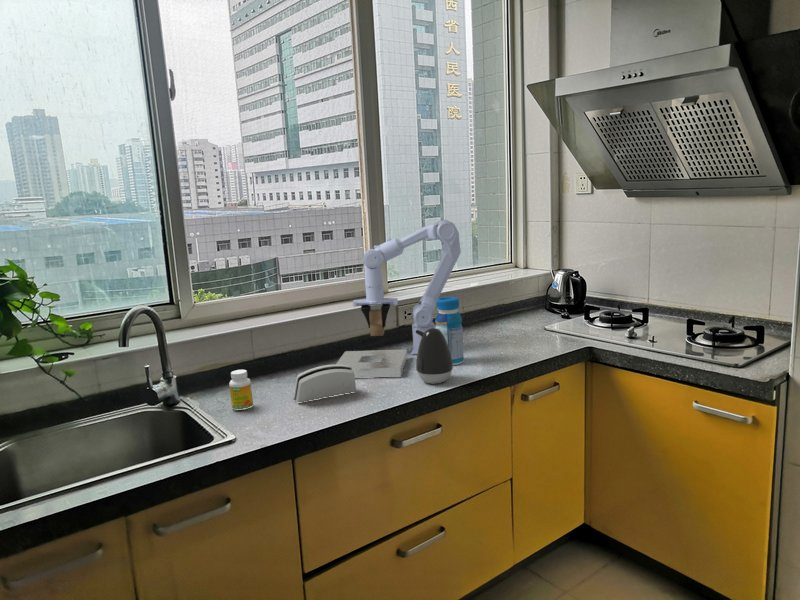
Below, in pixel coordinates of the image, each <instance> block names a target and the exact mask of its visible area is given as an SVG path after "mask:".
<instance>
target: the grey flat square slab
mask: <svg viewBox="0 0 800 600" xmlns="http://www.w3.org/2000/svg"><path fill="white" fill-rule="evenodd" d="M406 360H408V349H381V350H380V349H378V350H377V349H376V350H374V349H373V350H353V351H352V350H346V351H344V352H343V354H342V355H341V356H340V357H339V359H338V360H337V362H336V363H335V364H340V365H348V366H350V367H351V368H352V370H353V371H354V374H355V378H368V379H375V378H374V377H401V378H402V376H401V375H403V373H402V371H403V372H404V370H403V368H404V369H405V367H404V366H406V364H405V363H407V361H406Z"/></svg>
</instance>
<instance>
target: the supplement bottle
mask: <svg viewBox="0 0 800 600" xmlns="http://www.w3.org/2000/svg"><path fill="white" fill-rule="evenodd" d="M247 371H248V370H246V369H237V370H233V371H231V372H230V377H231V379H230V381H229V383H228V384H229V392H230V401H231V403H230V404H231V409H232V408H234V409H243V408H248V407H250V406H252V405H253V406H254V400H253V399H254V398H253V391H252V382H251V379H250V377H249V378H248V372H247Z"/></svg>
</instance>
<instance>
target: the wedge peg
mask: <svg viewBox="0 0 800 600" xmlns="http://www.w3.org/2000/svg"><path fill="white" fill-rule="evenodd" d="M369 318H370V328H369V330H370V332H369V333H370V337H378V336H381V337H382V336H384V334H385V327H383V325H382V311H381V308H380V309H379V308H378V309H377V308H375V309H371V310H370V311H369Z"/></svg>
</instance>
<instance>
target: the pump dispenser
mask: <svg viewBox="0 0 800 600" xmlns="http://www.w3.org/2000/svg"><path fill="white" fill-rule="evenodd" d="M416 333H417V334H418V335H420V336H421V337H422V338H421V341H420V344H419V348H418V352H417V354H416V361H415V362H416V363H415V368H416V371H417V374H418V376H419V378H420V379H421V380H422V381H423V382H425V383H427V384H429V383H439V384H442V382H443V383H444V382H446V381H448V379H449V378H450V377H451V375H452V371H453V369H454V365H453V362H452V357H451V353H450V349H449V346H448V344H447V341H446V339H445V337H444V335H443V334H442V332H441V331H440V330H438V329H436V328H430V329H428V330H426V331H425V333H424V332H422V331H419V330H416Z"/></svg>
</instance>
